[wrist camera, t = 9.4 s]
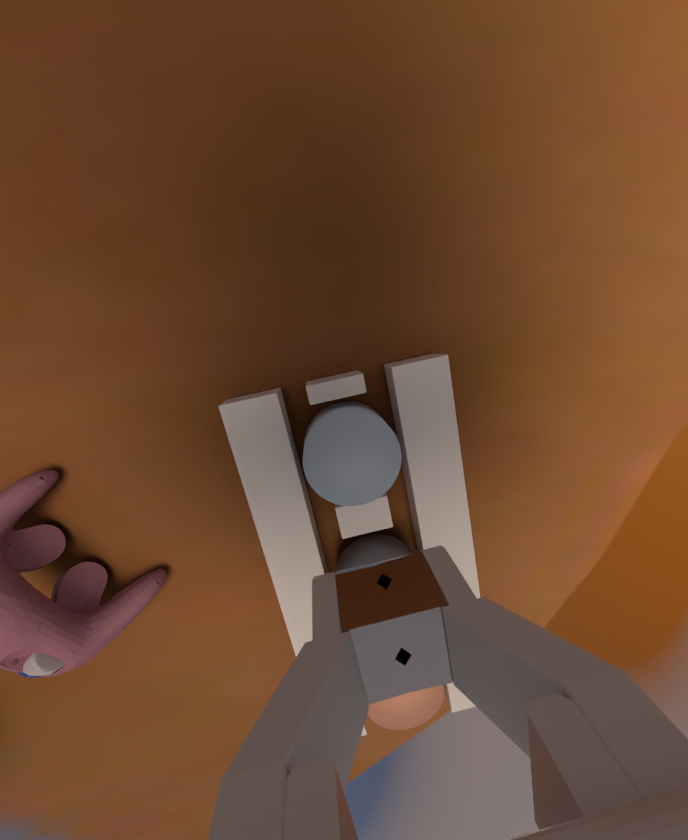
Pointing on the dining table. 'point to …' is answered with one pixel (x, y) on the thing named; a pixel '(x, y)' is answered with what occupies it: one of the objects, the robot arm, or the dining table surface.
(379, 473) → the pale blue button
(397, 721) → the terracotta button
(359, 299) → the dining table surface
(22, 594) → the video game controller
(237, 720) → the dining table surface
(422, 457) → the button board
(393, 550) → the charcoal button
